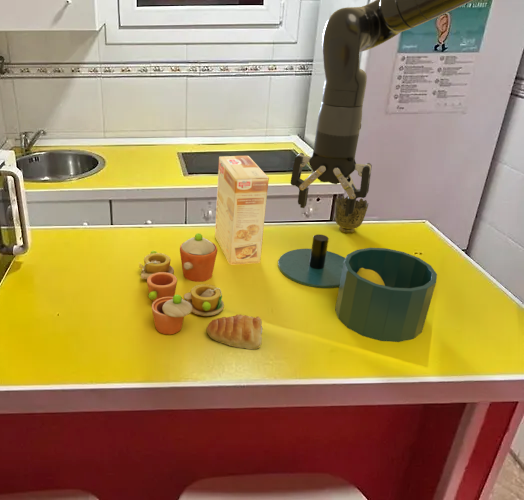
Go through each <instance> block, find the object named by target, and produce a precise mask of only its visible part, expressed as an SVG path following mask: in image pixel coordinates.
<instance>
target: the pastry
mask: <svg viewBox="0 0 524 500" xmlns="http://www.w3.org/2000/svg"><path fill="white" fill-rule="evenodd" d="M262 324H263V322H262V318H261V317H260V316H256V317H254V316H250V315H243V314H235V315H231V316H227V317H226V316H222V317H218V318H215V319H212V320H211V321H209V323H208V324H207V326H206V333H207V335H208V336H209V337H210V339H212V340H214V341H215V342H218V343H220V344H221V343H222V344H224V345H226V346H229V347H234V348H240V349H242V348H243V349H246V350H256V349H259V348H260V347H261V345H262V339H263V338H262V337H263V336H262V334H263V325H262Z"/></svg>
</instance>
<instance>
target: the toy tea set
mask: <svg viewBox="0 0 524 500" xmlns="http://www.w3.org/2000/svg"><path fill="white" fill-rule="evenodd" d="M179 254H180V261H181V269H182V274H183V277H184V278H185V279H186V280H188V281H190V282H195V283H201V282H207V281H208V280H210V279H211V278H212V277H213V275H214V274H213V273H214V268H215V264H216V259H217V256H218V255H217V254H218V247H217V245H216V244H215V243H214V242H212V241H211V240H209V239H207V238H206V237H203V235H202V234H201V232H199V233H196V234H195V235H194V236H193V237H191V238H188V239H186V240H185V241H184V242H182V243H181V245H180V246H179ZM171 261H172V260H171V257H170V256H169V255H168V254H165V253H162V252H157V250H152V251H150V253H149V254H146V255H145V256H144V258H143V263H144V265H143V264H142V263H141V262H139V261H138V268H139V269H140V279H142V280H146V285H147V288H148V289H147V290H148V298H149V300H151V301H152V304H151V312H152V316H153V321H154V322H153V323H154V327H155V329H156V331H157V332H158V333H160V334H163V335H174V334H175V335H176V334H177V333H179V332H180V331H181V330H182V328H183V323H184V319H185V318H184V317H187V316H188V315H190V314H191V313H193V314H195V315H198V316H202V317H211V316H216V315H218V314H221V312H223V310H224V307H225V305H224V301H223V300H222V298H223V295H222V294H223V293H222V290H221V288H220V287H217V286H215V285H212V284H207V283H203V284H197V285H195V286H193V287H192V288H191V289H190V292H186V293H184V294H183V298H182V296H181V295H180V294H176V290H177V284H178V278H177V277H176V275H175V274H174V273H175V269H174V267H173V266H171Z"/></svg>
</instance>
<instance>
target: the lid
mask: <svg viewBox="0 0 524 500" xmlns="http://www.w3.org/2000/svg"><path fill="white" fill-rule="evenodd" d="M329 239H330V238H329V236H327V235H325V234H314V235H313V237H312V243H311V248H297V249H293V250H289V251H286V252H285V253H282V255H280V256H279V257H278V262H277V266H278V270H279V271H280V272H281V274H282V275H283V276H285V278H287V279H289V280H290V281H292V282H295V283H297V284H300V285H303V286H307V287H311V288H319V289H334V288H339V286H340V280H341V275H342V269H343V264H344V260H345V258H346V257H344V256H342V255H340V254H338V253H335V252H333V251H329V250H328V247H329Z"/></svg>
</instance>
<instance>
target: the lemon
mask: <svg viewBox="0 0 524 500" xmlns="http://www.w3.org/2000/svg"><path fill="white" fill-rule="evenodd" d="M357 274H358V275H359V276H360V277H362V278H364V279H367V280H369V281H371V282H373V283H376V284H379V285H384V286H385V284H384V282H383V280H382V278H381V277H380V276H379V274H378V273H376V272H375V271H373V270H370V269H364V268H360V269H359V271H358V272H357Z"/></svg>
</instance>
